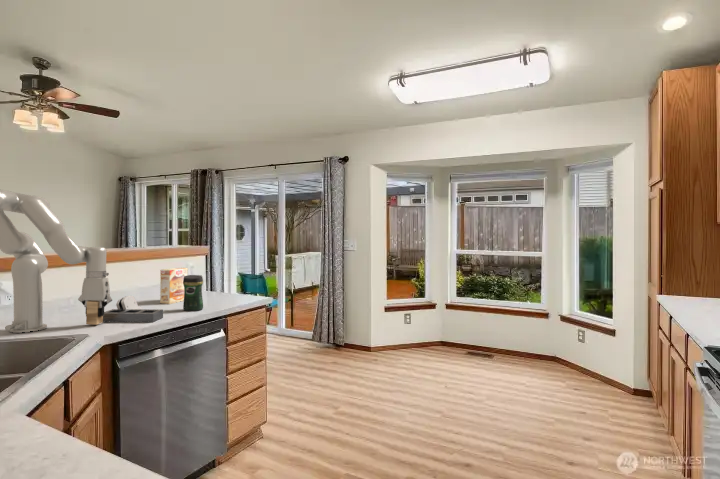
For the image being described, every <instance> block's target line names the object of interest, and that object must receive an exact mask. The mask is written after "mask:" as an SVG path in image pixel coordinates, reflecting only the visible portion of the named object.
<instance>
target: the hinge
mask: <svg viewBox="0 0 720 479" xmlns="http://www.w3.org/2000/svg"><path fill="white" fill-rule="evenodd" d="M115 304H116V305H115V306H116V309H143V308H142V307H141V306H139V305H138V302H137V300H136V299H135V297H134V296H133V295H126V296H124V297H121V298H119V299H118V300H117V302H116V303H115Z"/></svg>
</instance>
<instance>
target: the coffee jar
mask: <svg viewBox="0 0 720 479" xmlns="http://www.w3.org/2000/svg"><path fill="white" fill-rule="evenodd" d="M203 284H204V280H203V276H202V275H201V274H200V275H199V274H188V275H187V276H184V280H183V285H184V301H183V305H182V307H183V311H186V312H196V311H202V310H203V309H204V299H203V292H202V291H203V290H202V289H203Z"/></svg>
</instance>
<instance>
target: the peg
mask: <svg viewBox="0 0 720 479" xmlns="http://www.w3.org/2000/svg"><path fill="white" fill-rule="evenodd" d="M98 308H99V302H98V301H87V315H86V314H85V317H86V321H85V323H86V325H95V326H96V325H99V324H103V323H104V322H103V316H101V317H98Z"/></svg>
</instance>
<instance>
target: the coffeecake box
mask: <svg viewBox="0 0 720 479" xmlns="http://www.w3.org/2000/svg"><path fill="white" fill-rule="evenodd" d="M159 270H160V278H159V279H160V280H159V281H160V285H159V286H160V287H159V288H160V289H159V291H160V292H159V293H160V294H159V296H160V298H159V301H160V304H166V305H172V304H176V302H177V303H180V301H181V302H184V285H183V280H184V276H187V275H189V274H188V270H189V268H188V267H174V268H165V269H164V268H163V269H159Z"/></svg>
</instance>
